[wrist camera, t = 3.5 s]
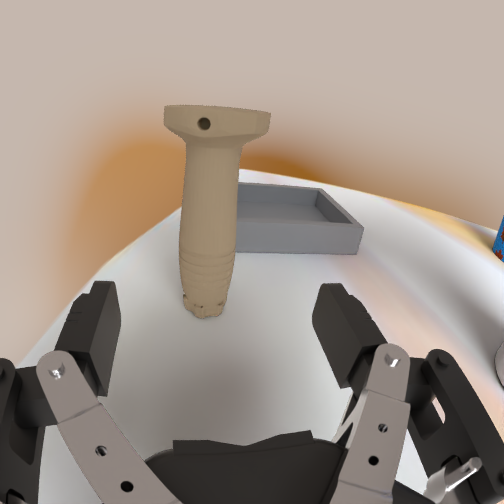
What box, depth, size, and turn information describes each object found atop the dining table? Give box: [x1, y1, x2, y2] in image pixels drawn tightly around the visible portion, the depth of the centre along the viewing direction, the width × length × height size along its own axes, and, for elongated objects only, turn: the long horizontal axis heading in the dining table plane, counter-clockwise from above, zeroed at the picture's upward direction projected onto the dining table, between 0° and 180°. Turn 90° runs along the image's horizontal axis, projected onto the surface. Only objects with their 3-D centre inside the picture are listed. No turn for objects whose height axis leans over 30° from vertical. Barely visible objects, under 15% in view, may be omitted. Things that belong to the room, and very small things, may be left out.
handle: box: [164, 105, 271, 318], centre depth 20 cm, size 5×6×15 cm
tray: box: [235, 182, 364, 254], centre depth 39 cm, size 16×14×4 cm
